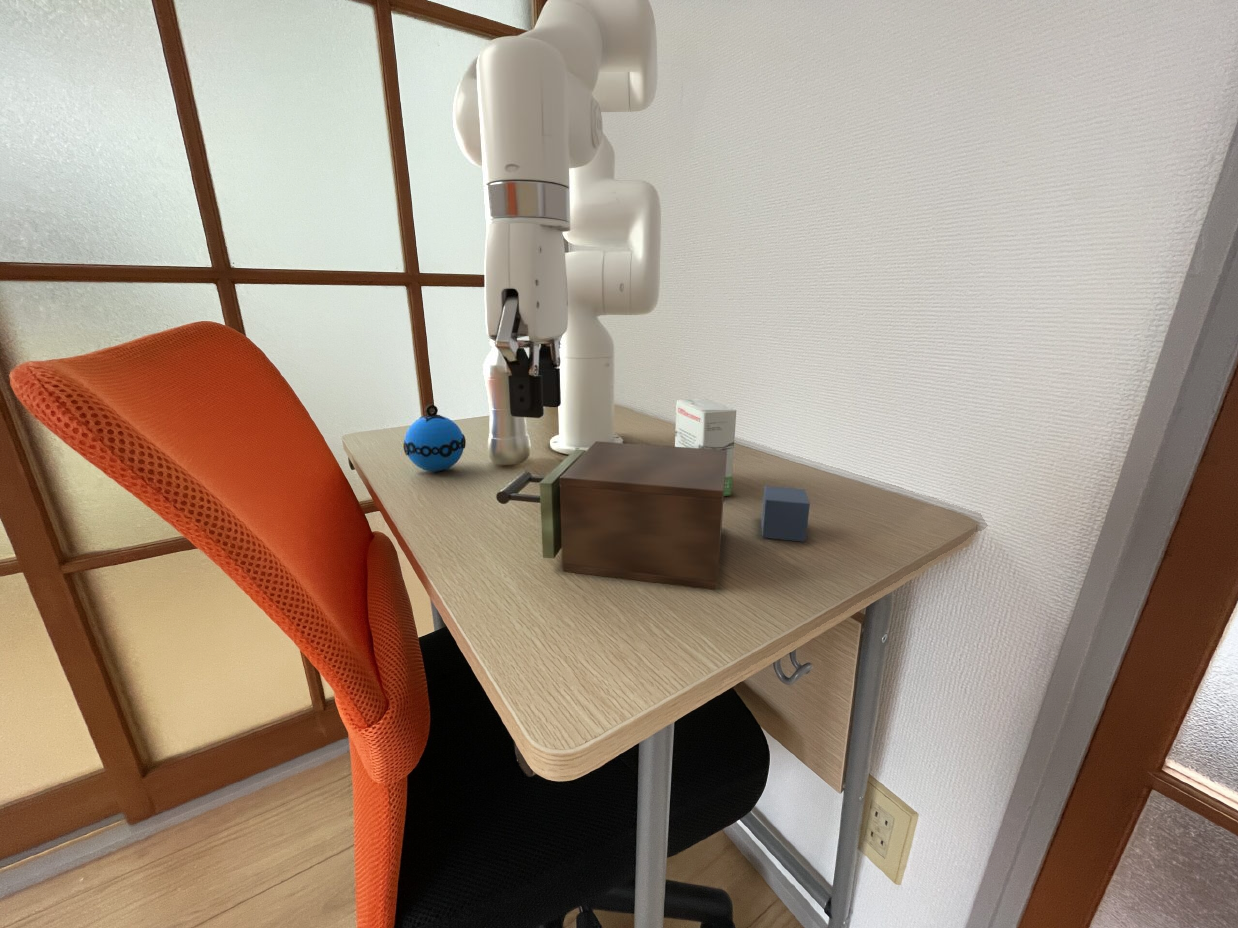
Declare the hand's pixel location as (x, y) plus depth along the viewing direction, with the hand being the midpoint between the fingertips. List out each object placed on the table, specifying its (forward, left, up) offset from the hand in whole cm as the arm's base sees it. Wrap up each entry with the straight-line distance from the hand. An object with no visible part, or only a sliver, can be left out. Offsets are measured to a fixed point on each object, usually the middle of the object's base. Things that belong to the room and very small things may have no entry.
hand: (536, 409), depth 53 cm
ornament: (-18, -23, -15) cm, 33 cm away
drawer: (0, +6, -13) cm, 15 cm away
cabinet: (0, +12, -14) cm, 19 cm away
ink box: (-20, +16, -15) cm, 29 cm away
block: (-8, +26, -14) cm, 30 cm away
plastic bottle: (-24, -14, -15) cm, 31 cm away
